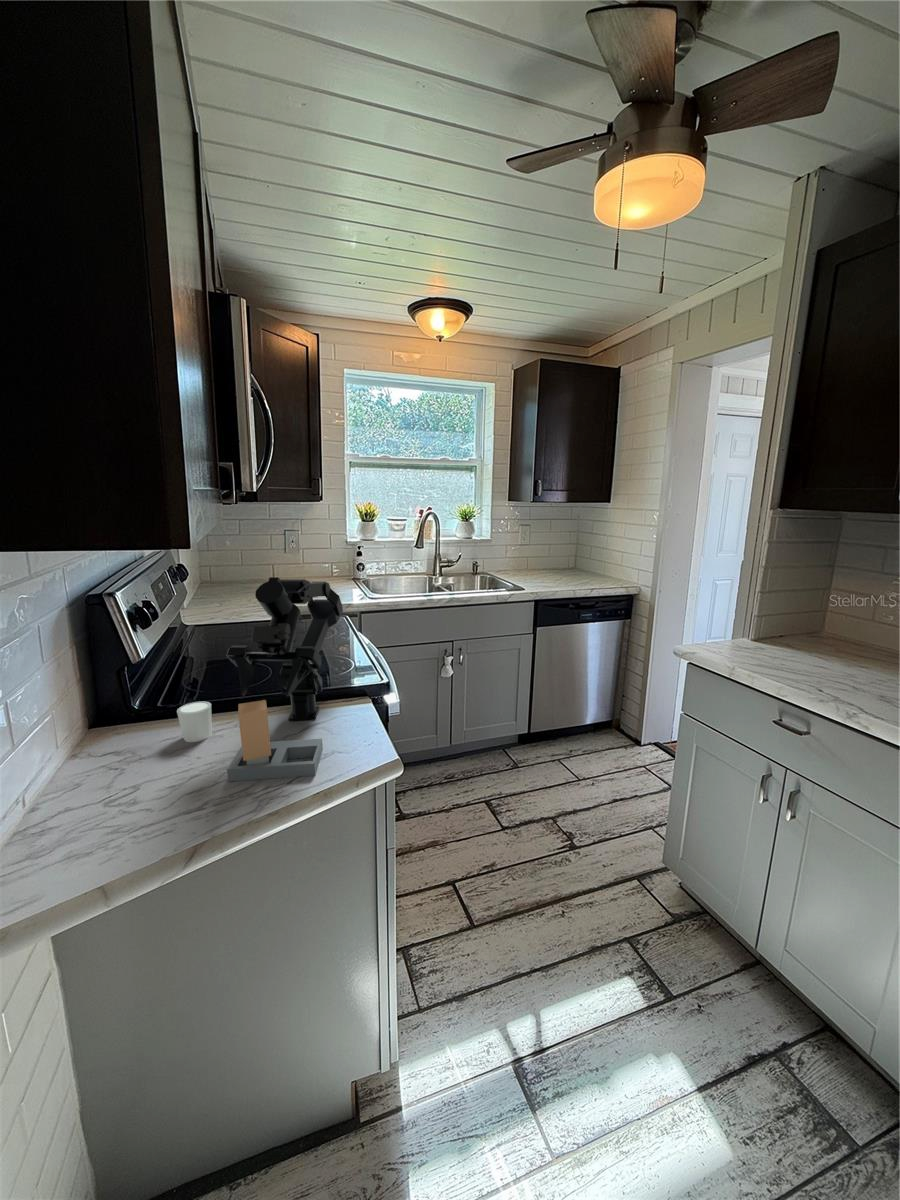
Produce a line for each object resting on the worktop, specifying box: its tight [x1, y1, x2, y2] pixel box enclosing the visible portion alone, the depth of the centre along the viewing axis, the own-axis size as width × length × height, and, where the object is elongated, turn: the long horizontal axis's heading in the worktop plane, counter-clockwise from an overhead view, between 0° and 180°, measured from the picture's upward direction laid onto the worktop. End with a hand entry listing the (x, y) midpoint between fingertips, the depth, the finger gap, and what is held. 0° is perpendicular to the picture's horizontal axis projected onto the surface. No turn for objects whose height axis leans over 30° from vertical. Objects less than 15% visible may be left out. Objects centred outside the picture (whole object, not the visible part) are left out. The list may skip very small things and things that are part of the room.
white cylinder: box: [176, 701, 213, 743], centre depth 108 cm, size 7×7×7 cm
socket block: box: [226, 738, 324, 783], centre depth 97 cm, size 10×16×2 cm, turn 97°
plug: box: [237, 699, 271, 765], centre depth 94 cm, size 5×5×13 cm
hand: (264, 695), depth 98 cm, fingers open, 9 cm apart
